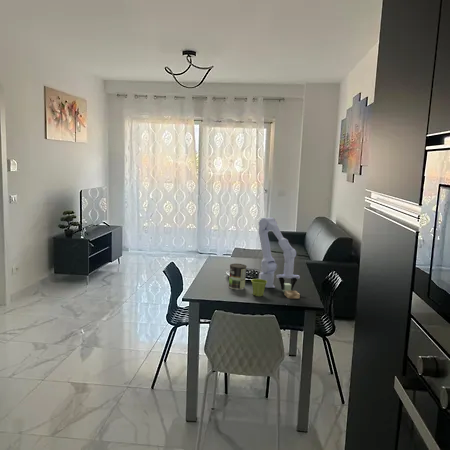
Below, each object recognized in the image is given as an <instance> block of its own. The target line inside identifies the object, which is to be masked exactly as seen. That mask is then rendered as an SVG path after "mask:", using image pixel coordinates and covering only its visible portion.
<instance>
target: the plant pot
mask: <svg viewBox="0 0 450 450" xmlns="http://www.w3.org/2000/svg"><path fill="white" fill-rule="evenodd" d="M250 281H251V284H252V285H251V286H252V295H253V296H255V297H262V296H263V297H264V293H265V288H266V287H265V285H266V283H267V281H266V280H263V279H259V278H252V279H251V280H250Z"/></svg>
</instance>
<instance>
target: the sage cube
mask: <svg viewBox="0 0 450 450" xmlns="http://www.w3.org/2000/svg"><path fill="white" fill-rule="evenodd" d="M285 291H292V290H291V282H290V283H289V282H288V283H287V282H284V289H283V290H282V292H283V294H285Z"/></svg>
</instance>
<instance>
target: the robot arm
mask: <svg viewBox="0 0 450 450" xmlns="http://www.w3.org/2000/svg"><path fill="white" fill-rule="evenodd" d="M270 231H272V233H273V234H274V236H275V237H276V238H277V240H278V242H277V243H278V245H279V247H280V249H281V250H282V252H283V258H284V264H283V265H284V266H283V273H282V274H275V272H276V271H277V268H278V264H277V263H276V259H275V258H274V257H273V256H272V250H271V244H270V239H269V234H268V233H269V232H270ZM258 236H259V241H260V246H261V252H262V259H261V262H260V264H261V266H260V270H261V272H259V274H258V279H263V280H266V281H267V283H266V285H265V288H267V289H268V288H276V286H275V284H274V282H275V279H274V278H275V277H276V279H278V280H279V284H280V288H281V289H280V290H281V291H283V289H284V283H285V281H286V280H285V279H290V284H291V291H294V290H293V289H294V286H295V285H296V283H297V281H298V280H299V279H300V277H301V276H300V275H299V274H294V268H295V267H294V266H295V258H296V257H297V250H296V249H295V248H294V247H293V246H291V243H290V242H289V239H287V238H286V237H284V236H283V234H282V232H281V230H280V228H279V226H278V222H277V220H276V219H275V218H274V217H273V216H271V217H262V218H260V220H259V221H258ZM275 275H276V276H275Z"/></svg>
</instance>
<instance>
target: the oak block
mask: <svg viewBox="0 0 450 450" xmlns="http://www.w3.org/2000/svg"><path fill="white" fill-rule="evenodd" d="M283 294H284V296H285V297H286V298H287V299H300V297H301V296H300V295H301V294H300V293H299V292H298V291H297V290H291V291H285V293H283Z"/></svg>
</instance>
